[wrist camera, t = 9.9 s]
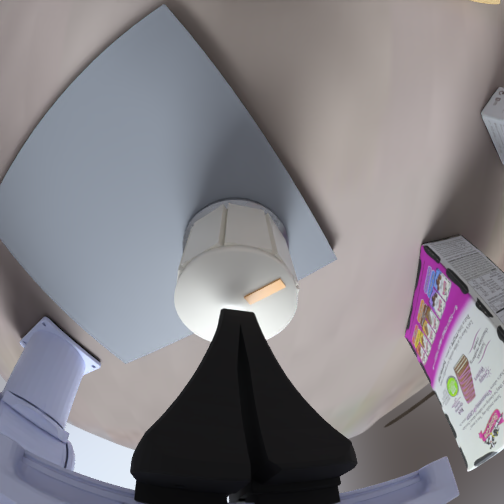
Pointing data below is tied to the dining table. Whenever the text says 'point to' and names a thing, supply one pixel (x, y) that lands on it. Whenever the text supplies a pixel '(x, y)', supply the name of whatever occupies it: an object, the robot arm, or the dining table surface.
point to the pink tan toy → (488, 1)
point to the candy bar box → (462, 341)
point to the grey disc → (225, 201)
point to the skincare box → (495, 120)
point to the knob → (236, 272)
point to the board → (140, 185)
